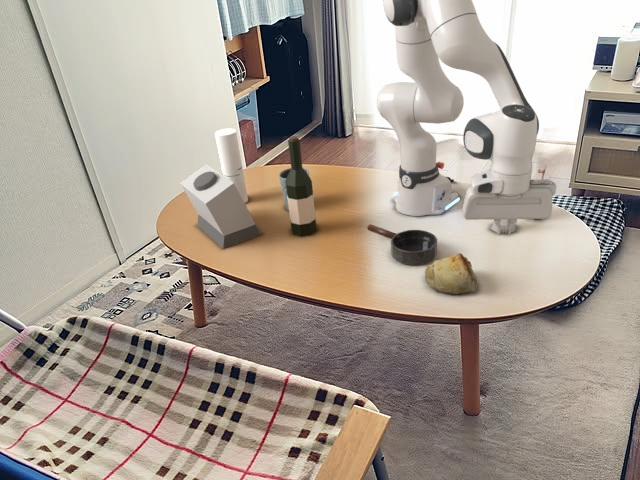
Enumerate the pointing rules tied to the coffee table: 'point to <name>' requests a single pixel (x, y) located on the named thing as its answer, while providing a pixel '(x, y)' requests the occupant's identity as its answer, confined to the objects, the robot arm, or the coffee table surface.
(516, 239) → the coffee table surface
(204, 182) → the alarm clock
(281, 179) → the drinking glass
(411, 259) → the pan
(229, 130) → the cylindrical container
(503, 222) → the flask
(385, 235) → the pan handle
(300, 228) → the wine bottle
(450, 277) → the pastry
